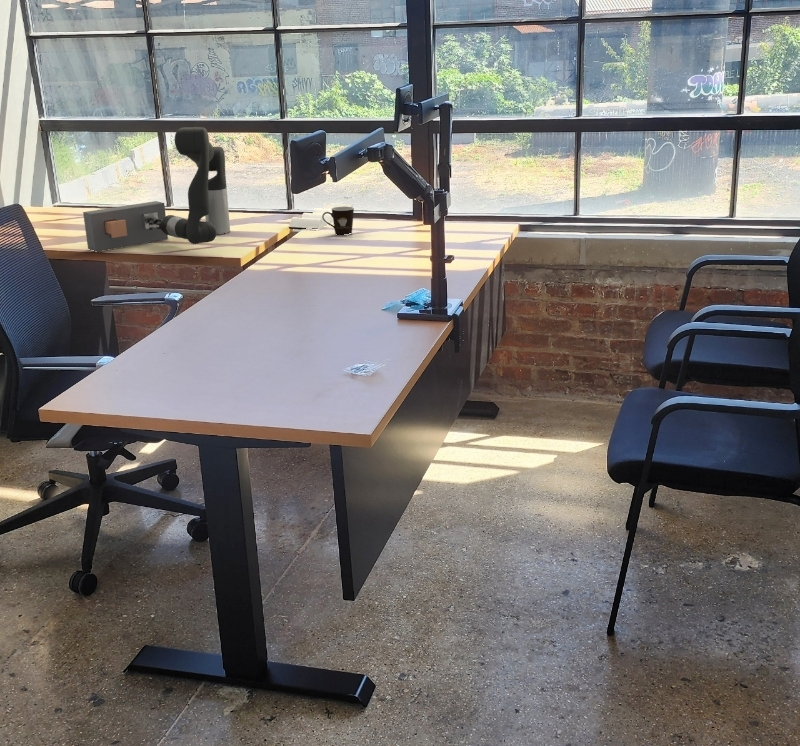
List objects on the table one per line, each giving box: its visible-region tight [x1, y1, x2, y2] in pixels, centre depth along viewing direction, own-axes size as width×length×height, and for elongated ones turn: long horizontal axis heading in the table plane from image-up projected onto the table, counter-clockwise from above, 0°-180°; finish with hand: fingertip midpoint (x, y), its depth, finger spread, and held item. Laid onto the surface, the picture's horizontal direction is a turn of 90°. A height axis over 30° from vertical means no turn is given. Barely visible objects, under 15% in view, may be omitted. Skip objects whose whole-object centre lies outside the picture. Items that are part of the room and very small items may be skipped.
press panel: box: [82, 200, 169, 252], centre depth 344 cm, size 6×30×14 cm, turn 134°
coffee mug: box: [322, 207, 355, 236], centre depth 357 cm, size 12×9×10 cm
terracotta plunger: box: [104, 220, 127, 238], centre depth 335 cm, size 10×6×6 cm, turn 44°
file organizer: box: [288, 202, 354, 230], centre depth 382 cm, size 13×35×5 cm, turn 159°
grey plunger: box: [143, 212, 158, 229], centre depth 349 cm, size 10×6×6 cm, turn 44°
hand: (151, 220), depth 346 cm, fingers closed
